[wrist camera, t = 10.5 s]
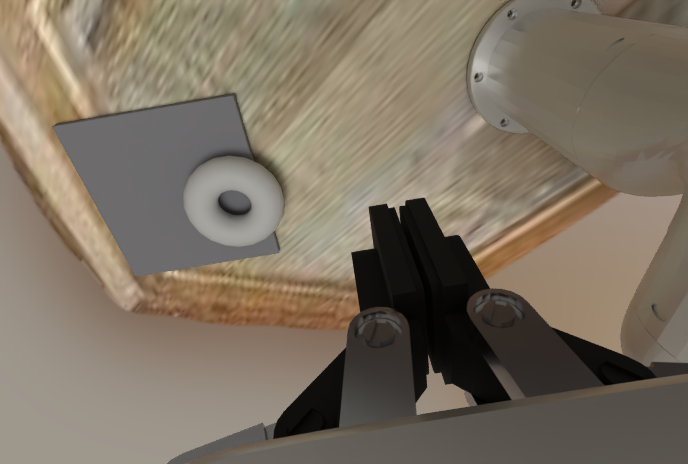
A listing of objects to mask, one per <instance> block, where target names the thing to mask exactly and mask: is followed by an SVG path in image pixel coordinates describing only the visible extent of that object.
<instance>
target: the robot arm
mask: <svg viewBox="0 0 688 464" xmlns="http://www.w3.org/2000/svg"><path fill="white" fill-rule="evenodd" d="M572 1H573V4H572V5H571V3H572ZM509 11H510V12H511V14H510V15H509V16H508V17H507V14H508V12H509ZM476 73H477V74H478V75H477V77H476V78H474V76H475V74H476ZM467 86H468V93H469V96H470V99H471V102H472V104H473V106H474V108H475V109H476V111H477V113H478V114H479V115H480V116H481V117H482V118H483V119H484V120H485V121H486V122H488V123H489V124H491V125H492V126H493V127H495V128H497V129H499V130H502V131H506V132H510V133H530V132H531V133H532V134H534V135H535V136H537V137H538V138H539V139H541V140H542V141H544V142H545V143H546V144H548V145H549V146H551V147H552V148H553V149H555V150H556V151H557V152H559V153H560V154H562V155H563V156H564V157H566V158H567V159H569V160H570V161H571V162H573V163H574V164H576V165H577V166H578V167H580V168H581V169H583V170H584V171H585V172H587V173H588V174H589V175H591V176H593V177H594V178H596V179H597V180H598V181H600V182H601V183H603V184H605V185H606V186H608V187H610V188H612V189H614V190H617V191H620V192H623V193H626V194H631V195H637V196H645V197H646V196H647V197H656V196H672V195H679V194H683V196H682V199H681V203H680V205H679V207H678V209H677V211H676V213H675V215H674V217H673V219H672V221H671V223H670V225H669V227H668V231H667V233H666V235H665V237H664V239H663V241H662V243H661V245H660V247H659V249H658V250H657V252H656V254H655V256H654V258H653V260H652V261H651V263H650V265H649V267H648V269H647V271H646V273H645V274H644V276H643V278H642V280H641V282H640V284H639V286H638V288H637V289H636V292H635V294H634V296H633V298H632V300H631V302H630V304H629V306H628V309H627V311H626V314H625V316H624V319H623V322H622V327H621V334H620V340H621V348H622V353H623V355H622V354H620V353H617V352H615V351H612V350H609V349H607V348H604V347H602V346H599V345H596V344H594V343H591V342H589V341H586V340H583V339H581V338H578V337H576V336H573V335H570V334H568V333H565V332H563V331H560V330H558V329H555V328H552V327H550V326H549V324H547V322H546V321H545V320H544V319H543V318H542V317H541V316H540V315H539V314H538V312H536V310H535V309H534V308H533V307H532V306H531V305H530V304H529V303H528V302H527V301H526V300H525V299H524V298H523V297H521V296H520V295H518V294H516V293H514V292H512V291H508V290H504V289H493V288H492V289H490V288H489V286H488V284H487V282H486V281H485V279H484V277H483V275H482V274H481V272H480V270H479V268H478V267H477V265H476V263H475V261H474V260H473V258H472V256H471V255H470V253H469V251H468V249H467V248H466V246H465V244H464V242H463V241H462V239H461V237H460V236H459V235H454V236H448V237H444V235H443V233H442V231H441V229H440V227H439V225H438V223H437V221H436V219H435V217H434V215H433V213H432V211H431V209H430V207H429V206H428V204H427V202H426V200H425V198H418V199H412V200H406V202H405V206H400V207H399V211H400V221H399V218H398V215H397V213H396V210H395V208H394V207H393V208H388V206H387V204H382V205H376V206H370V207H369V214H370V222H371V229H372V237H373V245H374V249H368V250H362V251H356V252H351V254H352V260H353V267H354V273H355V280H356V287H357V293H358V300H359V306H360V313H359V314H357V315H356V316H355V317H354V318H353V319H352V321H351V322H350V324H349V327H348V332H347V344H346V348H345V349H344V350H343V351H342V352H341V353H340V354H339V355H338V356H337V357H336V358H335V359H334V360H333V361H332V362H331V364H329V366H328V367H327V368H326V369H325V370H324V371H323V372H322V373H321V374H320V375H319V376H318V377H317V378H316V379H315V380H314V381H313V382H312V383H311V384H310V385H309V386H308V387H307V388H306V389H305V390H304V391H303V392H302V393H301V394H300V395H299V396H298V398H297V399H296V400H295V401H294V402H293V403H292V404H291V405H290V406H289V407H288V408H287V409H286V410H285V411H284V412H283V414H282V415H281V416H280V418H279V419H278V421H277V422H276V423H274V424H271V425H268V426H266V427H265V426H264V424H263V423H261V424H258V425H255V426H253V427H250V428H248V429H245V430H242V431H240V432H237V433H234V434H232V435H229V436H227V437H224V438H221V439H219V440H216V441H214V442H211V443H208V444H206V445H203V446H201V447H198V448H195V449H193V450H190V451H188V452H185V453H183V454H181V455H179V456H177V457H175V458H174V459H172V460H170V461H169V462H168V463H167V464H688V27H682V26H675V25H668V24H661V23H654V22H647V21H640V20H633V19H626V18H619V17H612V16H606V15H602V14H601V12H600V11H599V9H598V8H597V6H596V5H595V3H594V2H593V1H591V0H511V1H509V2H508V3H507V4H505V5H504V6H503V7H502V8H501V9H500V10H498V11H497V12H496V13H495V14H494V15H493V17H492V18H491V19H490V20H489V21H488V22H487V24H486V25H485V26H484V28H483V29H482V31H481V33H480V34H479V36H478V38H477V39H476V42H475V44H474V47H473V49H472V51H471V55H470V59H469V63H468V69H467ZM502 119H503V121H502V122H501V120H502ZM400 223H401V224H400ZM428 355H429V358H430V361H431V365H432V368H433V371H434V373H440V372H441V373H442V376H443V379H444V382H445V385H446V384H454V385H456V386H458V387H460V388H461V389H463V390H465V397H466V400H467V402H468V404H469V406H470V407H465V408H458V409H452V410H446V411H439V412H433V413H426V414H421V415H416V402H417V400H418V399H419V398H420V396H421V395H422V393H423V392H424V391H425V390H426V388H427V379H426V378H427V377H426V375H427V374H429V363H428Z"/></svg>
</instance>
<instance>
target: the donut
mask: <svg viewBox="0 0 688 464" xmlns="http://www.w3.org/2000/svg"><path fill="white" fill-rule="evenodd" d="M230 190H234V191H239V192H241V193H243V194H245V195H246V196H247V197H248V198H249V200H250V201H251V209H250V211H249V212H248V213H246V214H244V215H232V214H230V213H227V212H226V211H224V210H223V209H222V208H221V207H220V205H219V202H218V198H219V196H220V195H221V193H223V192H225V191H230ZM183 200H184V209H185V211H186V213H187V216H188V218H189V220H190V222H191V223H192V224H193V226H194V227H195V228H196V229H197V230H198V231H199V233H201V234H202V235H204V236H205V237H207V238H208V239H210V240H211V241H214V242H217V243H220V244H222V245H226V246H236V247H241V246H247V245H253V244H255V243H257V242H259V241H262V240H264V239H266V238H267V237H268V236H269V235H270V234H272V233H273V232H274V231H275V230H276V229H277V227H278V225H279V223H280V221H281V219H282V217H283V212H284V203H285V202H284V198H283V194H282V190H281V186H280V185H279V183H278V182H277V180H276V179H275V177H274V176H273V174H272V173H270V172H269V171H268V170H267V169H266V168H264V167H263V166H262V165H261V164H259V163H256V162H254V161H252V160H249V159H247V158H243V157H236V156H224V157H217V158H213V159H211V160H209V161H207V162H205V163H203V164H201V165H200V166H198V167H197V168H196V170H195V171H194V172H193V173H192V174H191V175H190V176H189V177H188V180H187V183H186V186H185V188H184V192H183Z"/></svg>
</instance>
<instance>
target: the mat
mask: <svg viewBox="0 0 688 464" xmlns="http://www.w3.org/2000/svg"><path fill="white" fill-rule="evenodd" d="M52 127H53V129H54V131H55V133H56V135H57V136H58V138H59V140H60V142H61V144H62V145H63V147H64V149H65V151H66V153H67V154H68V156H69V158H70V160H71V162H72V163H73V165H74V167H75V169H76V171H77V172H78V174H79V176H80V178H81V180H82V181H83V183H84V185H85V187H86V188H87V190H88V192H89V194H90V196H91V197H92V199H93V201H94V203H95V205H96V206H97V208H98V210H99V212H100V214H101V215H102V217H103V219H104V221H105V223H106V224H107V226H108V228H109V230H110V232H111V233H112V235H113V237H114V239H115V240H116V242H117V244H118V246H119V248H120V249H121V251H122V253H123V255H124V257H125V258H126V260H127V262H128V264H129V266H130V267H131V269H132V271H133V273H134V275H135V276H141V275H148V274H154V273H160V272H166V271H172V270H178V269H184V268H190V267H196V266H202V265H208V264H214V263H221V262H227V261H233V260H239V259H245V258H251V257H257V256H263V255H269V254H275V253H279V251H280V248H279V245H278V241H277V238H276V234H275V231H274V232H273V233H272V234H270V235H269V236H268V237H267V238H266V239H264V240H262V241H259V242H257V243H255V244H253V245H247V246H241V247H236V246H226V245H222V244H220V243H217V242H214V241H211V240H210V239H208V238H207V237H205V236H204V235H202V234H201V233H199V231H198V230H197V229H196V228H195V227H194V226H193V224H192V223H191V222H190V220H189V218H188V216H187V213H186V211H185V209H184V200H183V192H184V188H185V186H186V183H187V180H188V177H189V176H190V175H191V174H192V173H193V172H194V171H195V170H196V168H197V167H198V166H200V165H201V164H203V163H205V162H207V161H209V160H211V159H213V158H217V157H224V156H236V157H243V158H247V159H249V160H252V161H254V158H253V155H252V152H251V148H250V145H249V141H248V138H247V134H246V131H245V127H244V124H243V120H242V117H241V114H240V110H239V107H238V103H237V100H236V96H235V93H234V94H228V95H222V96H216V97H210V98H204V99H199V100H193V101H187V102H181V103H175V104H170V105H164V106H158V107H152V108H146V109H141V110H135V111H129V112H123V113H117V114H111V115H106V116H100V117H94V118H88V119H82V120H77V121H71V122H65V123H59V124H56V125H54V126H52ZM218 202H219V205H220V207H221V208H222V209H223V210H224V211H226V212H227V213H230V214H232V215H244V214H246V213H248V212H249V211H250V209H251V201H250V200H249V198H248V197H247V196H246V195H245V194H243V193H241V192H239V191H234V190H230V191H225V192H223V193H221V195H220V196H219V198H218Z"/></svg>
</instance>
